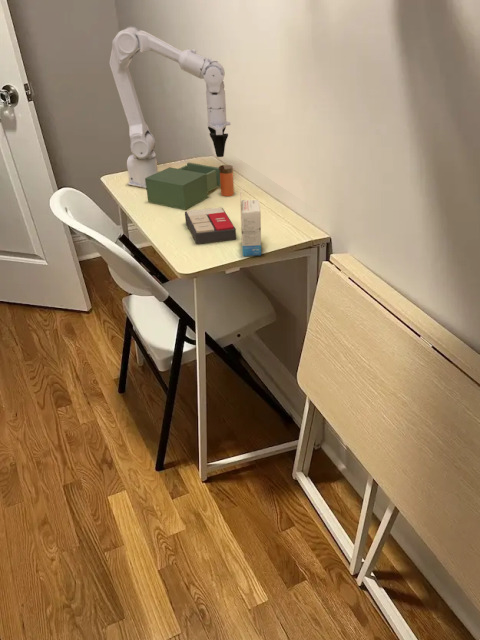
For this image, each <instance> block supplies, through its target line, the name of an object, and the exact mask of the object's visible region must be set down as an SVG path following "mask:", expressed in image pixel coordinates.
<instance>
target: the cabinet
mask: <svg viewBox="0 0 480 640" xmlns="http://www.w3.org/2000/svg"><path fill="white" fill-rule="evenodd" d="M145 182H146V188H145V190H146V196H147V202H148V203H150V204H155V205H158V206H159V205H160V206H164V207H168V208H174V209H179V210H184V211H188V209H191V208H192V207H194V206H196V205H198V204H200V203H201V202H203V201H205V200H207V199H208V198H209V192H208V188H207V175H206V174H204V173H199V172H193V171H188V170H182V169H179V168H176V167H171V166H170V167H167V168H165V169H163V170H160V171H158V173H156V174H153V175H151V176H149V177H147V178H145Z"/></svg>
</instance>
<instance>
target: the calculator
mask: <svg viewBox="0 0 480 640" xmlns="http://www.w3.org/2000/svg"><path fill="white" fill-rule="evenodd" d="M184 217H185V218H184V219H185V225H186V227H187V229H189V233H190V234H191V236H192V238H193V240H194V243H195V244H196V245H202V244H211V243H219V242H227V241H234V240H236V239H237V228H236V226H235V225H234V224H233V222H232V221H231V219H230V217H229V216H228V214H227V213H226V211H225V209H224V208H223V207H221V206H218V207H208V208H200V209H199V208H198V209H191V210H185V211H184Z"/></svg>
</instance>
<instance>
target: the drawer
mask: <svg viewBox="0 0 480 640" xmlns="http://www.w3.org/2000/svg"><path fill="white" fill-rule="evenodd" d="M178 169H182V170H188V171H193V172H199V173H204V174H206V175H207V188H208V193H209V192H211V191H213V190H214V189H216V188H218V187H219V188H220V172H219V166H212V165H207V164H200V163H194V162H187V163H186V164H185V165H183V166H181V167H179V168H178Z"/></svg>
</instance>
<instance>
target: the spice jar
mask: <svg viewBox="0 0 480 640" xmlns="http://www.w3.org/2000/svg"><path fill="white" fill-rule="evenodd" d="M218 168H219V172H220V187H219V188H220V196H222V197H232V196H234V195H235V187H234V186H235V185H234V165H231V164H222V165H219V166H218Z"/></svg>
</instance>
